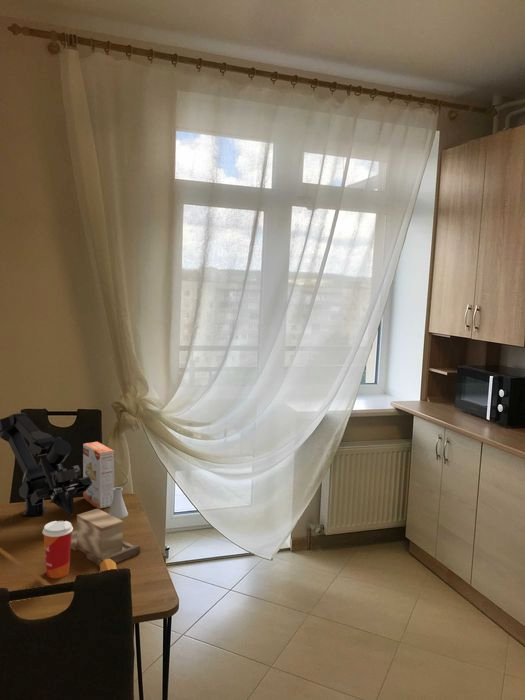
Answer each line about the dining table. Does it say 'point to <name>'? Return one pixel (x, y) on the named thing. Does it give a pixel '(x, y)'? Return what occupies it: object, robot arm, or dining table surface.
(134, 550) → the tan shallow tray
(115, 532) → the tea box
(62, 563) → the paper cup
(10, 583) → the dining table surface
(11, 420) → the robot arm
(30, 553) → the dining table surface
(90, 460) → the cracker box
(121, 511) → the flask
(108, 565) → the carrot
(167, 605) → the dining table surface
